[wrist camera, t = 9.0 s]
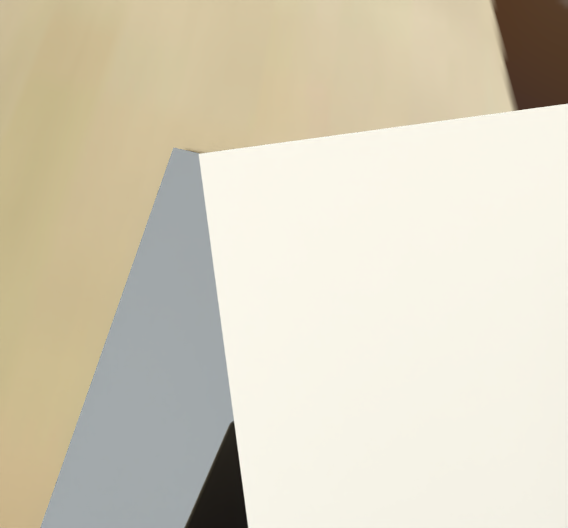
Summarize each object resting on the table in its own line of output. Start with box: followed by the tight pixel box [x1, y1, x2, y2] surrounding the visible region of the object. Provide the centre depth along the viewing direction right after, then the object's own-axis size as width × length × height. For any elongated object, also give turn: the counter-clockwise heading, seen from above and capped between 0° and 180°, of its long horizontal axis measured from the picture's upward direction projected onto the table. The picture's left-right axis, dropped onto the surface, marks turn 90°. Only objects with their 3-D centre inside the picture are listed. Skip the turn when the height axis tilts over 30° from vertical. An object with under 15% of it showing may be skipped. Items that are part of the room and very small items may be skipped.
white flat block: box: [199, 104, 568, 528], centre depth 8 cm, size 7×3×11 cm, turn 10°
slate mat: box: [41, 148, 234, 528], centre depth 16 cm, size 20×16×1 cm
